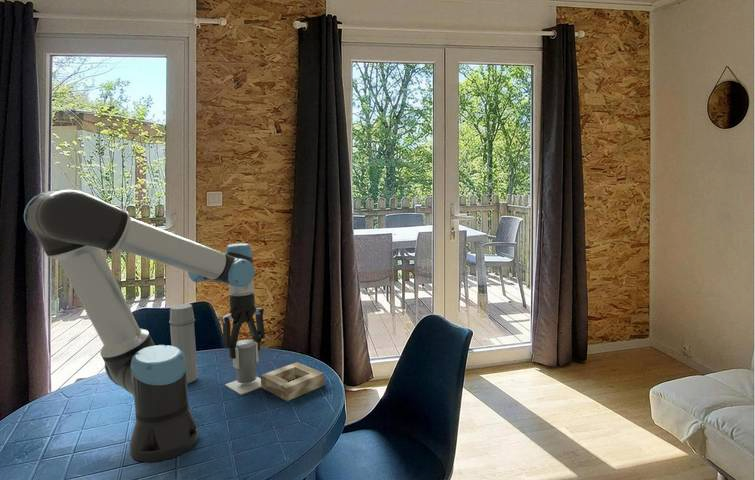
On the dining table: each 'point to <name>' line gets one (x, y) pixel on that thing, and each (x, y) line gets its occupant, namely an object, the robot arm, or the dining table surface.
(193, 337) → the water bottle
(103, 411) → the dining table surface
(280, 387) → the housing
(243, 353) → the grey domed cylinder
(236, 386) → the pad
